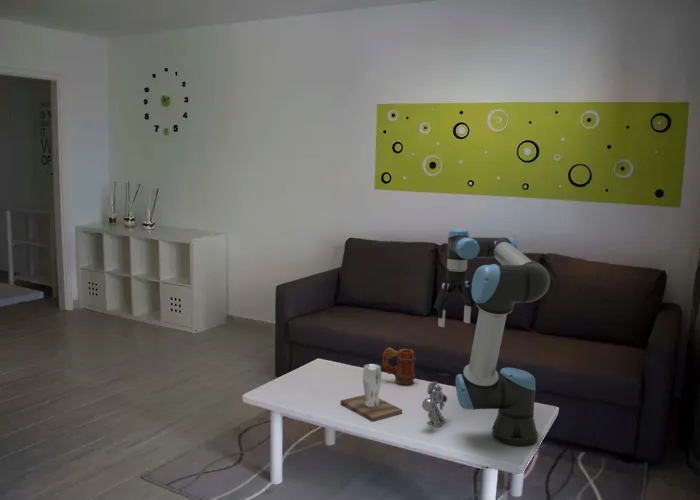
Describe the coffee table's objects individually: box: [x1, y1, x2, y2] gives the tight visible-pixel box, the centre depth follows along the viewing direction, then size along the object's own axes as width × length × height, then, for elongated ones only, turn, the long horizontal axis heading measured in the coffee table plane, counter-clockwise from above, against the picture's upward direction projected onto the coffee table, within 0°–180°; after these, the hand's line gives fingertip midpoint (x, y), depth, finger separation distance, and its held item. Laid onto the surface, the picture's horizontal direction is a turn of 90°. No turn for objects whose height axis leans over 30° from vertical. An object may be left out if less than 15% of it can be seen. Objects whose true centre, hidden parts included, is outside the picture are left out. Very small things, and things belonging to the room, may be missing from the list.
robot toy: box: [421, 380, 448, 428], centre depth 228 cm, size 15×6×15 cm, turn 148°
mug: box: [381, 347, 417, 386], centre depth 271 cm, size 15×8×15 cm, turn 84°
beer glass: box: [362, 363, 382, 408], centre depth 241 cm, size 7×7×15 cm
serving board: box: [340, 394, 403, 422], centre depth 242 cm, size 20×14×2 cm
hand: (454, 324), depth 246 cm, fingers open, 13 cm apart
